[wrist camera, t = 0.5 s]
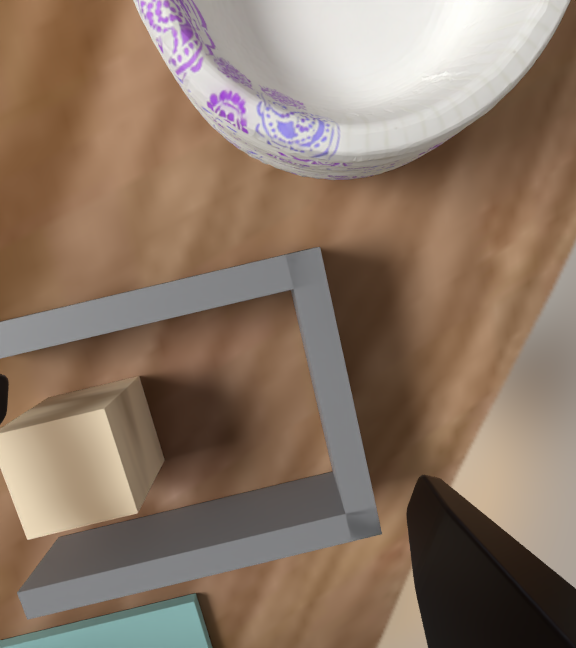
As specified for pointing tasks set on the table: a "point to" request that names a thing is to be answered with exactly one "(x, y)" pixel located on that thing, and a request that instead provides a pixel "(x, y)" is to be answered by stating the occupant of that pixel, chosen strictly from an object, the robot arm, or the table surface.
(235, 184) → the table surface
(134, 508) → the wooden block
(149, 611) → the mat
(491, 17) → the paper bowls
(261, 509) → the grey u-shaped frame
